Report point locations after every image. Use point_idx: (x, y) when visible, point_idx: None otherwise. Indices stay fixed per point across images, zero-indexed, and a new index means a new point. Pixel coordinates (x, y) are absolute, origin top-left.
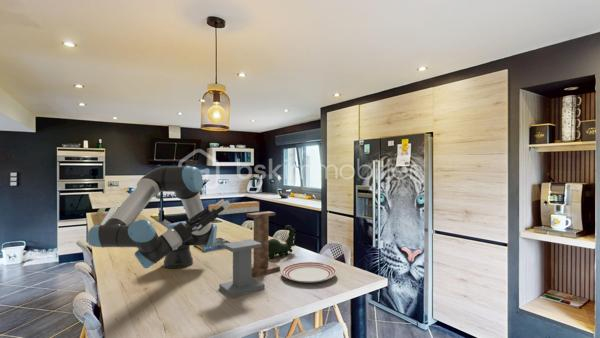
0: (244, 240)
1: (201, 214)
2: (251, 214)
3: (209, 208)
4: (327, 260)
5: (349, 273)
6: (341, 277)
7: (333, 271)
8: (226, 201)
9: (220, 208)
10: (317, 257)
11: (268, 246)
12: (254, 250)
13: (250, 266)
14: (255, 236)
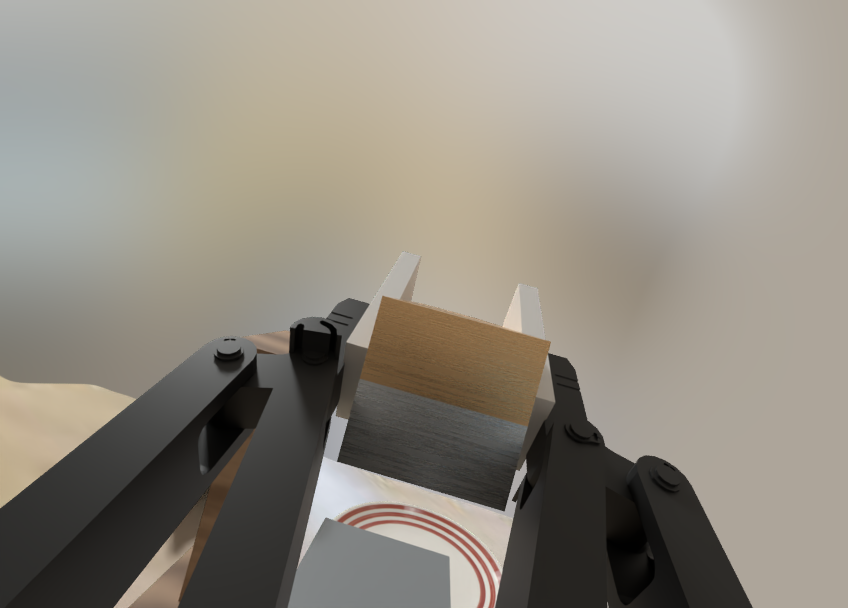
0: (314, 545)
1: (296, 528)
2: (274, 352)
3: (410, 370)
4: (359, 475)
5: (467, 523)
6: None
7: (463, 536)
8: (537, 299)
9: (576, 391)
10: (321, 465)
11: None
12: (209, 523)
13: None
14: (238, 455)
